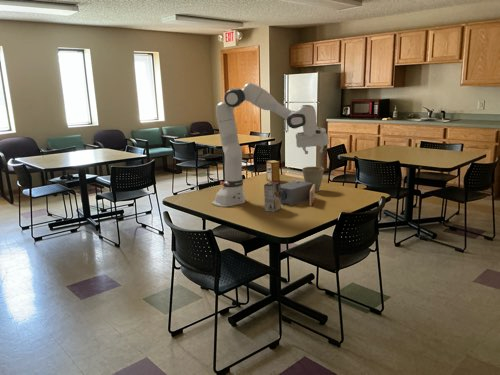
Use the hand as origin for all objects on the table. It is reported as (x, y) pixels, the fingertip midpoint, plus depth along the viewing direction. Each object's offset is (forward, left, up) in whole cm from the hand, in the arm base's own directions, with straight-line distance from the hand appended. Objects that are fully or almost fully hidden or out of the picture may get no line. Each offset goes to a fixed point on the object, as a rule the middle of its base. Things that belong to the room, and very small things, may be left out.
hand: (313, 153), depth 252 cm
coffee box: (-30, +8, -31) cm, 44 cm away
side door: (-3, -1, -30) cm, 30 cm away
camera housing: (-5, +12, -31) cm, 33 cm away
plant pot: (+22, +17, -31) cm, 41 cm away
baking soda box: (+29, +61, -31) cm, 74 cm away
